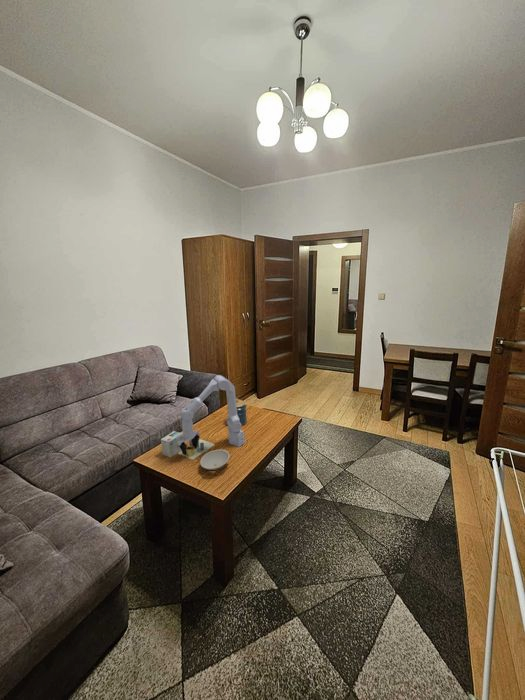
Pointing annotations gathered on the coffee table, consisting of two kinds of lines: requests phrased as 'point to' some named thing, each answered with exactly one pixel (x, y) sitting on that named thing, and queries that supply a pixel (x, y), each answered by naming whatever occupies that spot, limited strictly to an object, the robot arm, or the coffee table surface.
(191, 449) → the gear
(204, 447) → the gear board
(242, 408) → the canister
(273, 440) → the coffee table surface
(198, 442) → the gear
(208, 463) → the dish
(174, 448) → the light bulb box
